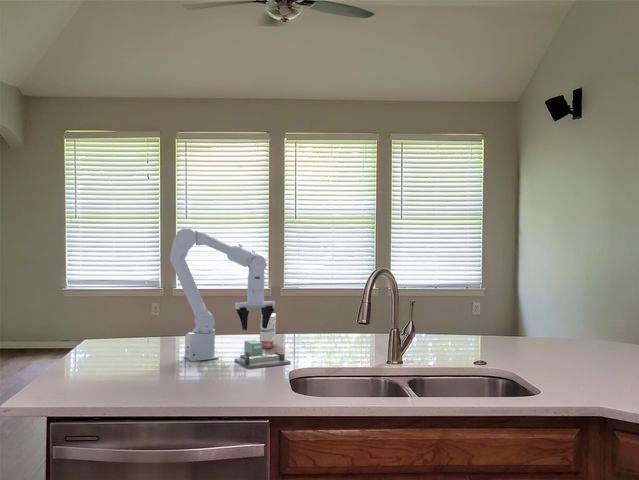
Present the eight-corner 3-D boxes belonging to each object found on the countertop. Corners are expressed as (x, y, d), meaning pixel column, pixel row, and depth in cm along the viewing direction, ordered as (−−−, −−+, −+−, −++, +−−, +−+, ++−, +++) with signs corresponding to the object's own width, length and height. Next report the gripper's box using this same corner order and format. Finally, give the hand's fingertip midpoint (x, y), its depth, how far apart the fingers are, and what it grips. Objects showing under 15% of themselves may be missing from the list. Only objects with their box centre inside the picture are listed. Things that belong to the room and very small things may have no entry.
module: (251, 358, 183) (252, 344, 183) (244, 354, 189) (244, 340, 189) (262, 357, 185) (262, 343, 185) (254, 353, 191) (255, 339, 191)
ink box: (272, 348, 200) (273, 316, 200) (259, 348, 200) (259, 315, 200) (275, 343, 209) (276, 312, 208) (262, 343, 209) (263, 312, 209)
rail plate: (248, 368, 170) (248, 360, 170) (234, 361, 179) (234, 353, 179) (290, 363, 178) (290, 355, 178) (275, 356, 187) (275, 349, 187)
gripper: (241, 291, 180) (240, 332, 180) (280, 290, 188) (278, 329, 188) (232, 289, 186) (231, 328, 186) (270, 287, 194) (269, 325, 194)
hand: (254, 328), depth 187 cm, fingers open, 7 cm apart
